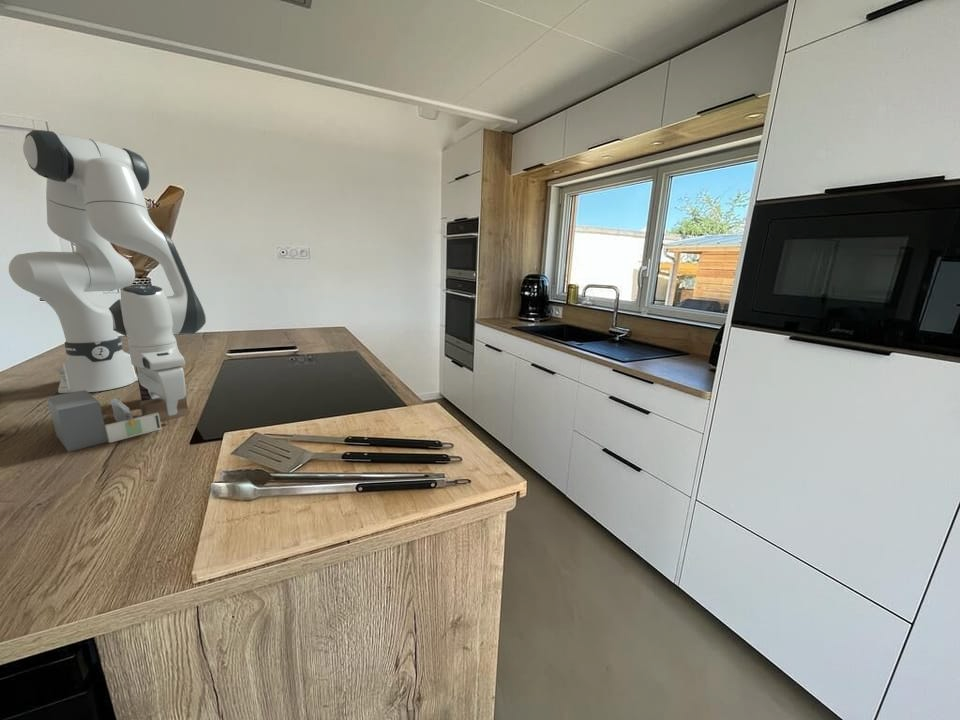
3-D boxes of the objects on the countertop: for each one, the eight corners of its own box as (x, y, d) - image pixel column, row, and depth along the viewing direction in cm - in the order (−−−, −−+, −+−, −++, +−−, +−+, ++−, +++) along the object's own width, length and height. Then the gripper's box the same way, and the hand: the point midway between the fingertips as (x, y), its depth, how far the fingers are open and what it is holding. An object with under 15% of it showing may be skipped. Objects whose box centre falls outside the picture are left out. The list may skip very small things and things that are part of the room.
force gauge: (56, 435, 85) (46, 397, 83) (143, 415, 97) (136, 380, 95) (69, 453, 78) (58, 411, 75) (162, 429, 90) (155, 392, 87)
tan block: (143, 421, 94) (139, 401, 93) (182, 411, 100) (179, 393, 99) (149, 425, 92) (145, 405, 90) (188, 415, 98) (185, 396, 97)
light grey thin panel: (114, 419, 92) (110, 399, 91) (120, 418, 93) (116, 398, 91) (131, 434, 85) (127, 412, 83) (137, 432, 85) (133, 411, 84)
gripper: (124, 350, 95) (135, 403, 99) (152, 364, 84) (164, 424, 87) (156, 346, 100) (165, 397, 104) (187, 359, 89) (196, 415, 92)
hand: (165, 409), depth 95 cm, fingers open, 8 cm apart
